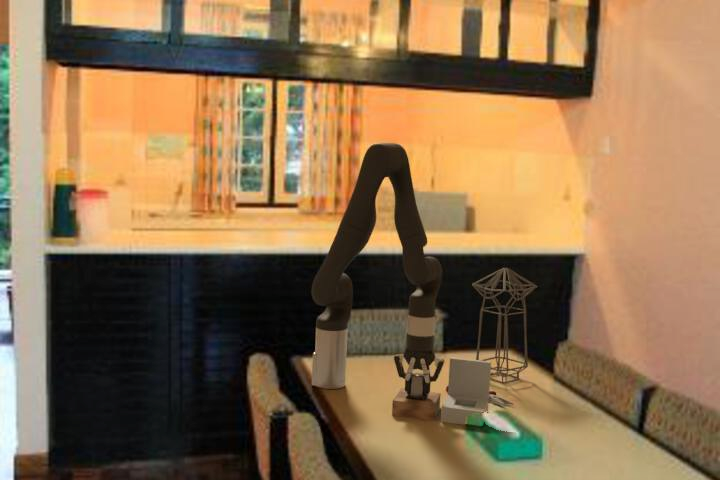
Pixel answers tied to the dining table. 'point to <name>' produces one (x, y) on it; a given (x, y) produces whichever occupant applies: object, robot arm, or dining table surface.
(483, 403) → the block
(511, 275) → the geometric lantern
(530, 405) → the dining table surface
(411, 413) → the socket block
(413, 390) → the steel rod
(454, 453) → the dining table surface
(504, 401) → the pliers
